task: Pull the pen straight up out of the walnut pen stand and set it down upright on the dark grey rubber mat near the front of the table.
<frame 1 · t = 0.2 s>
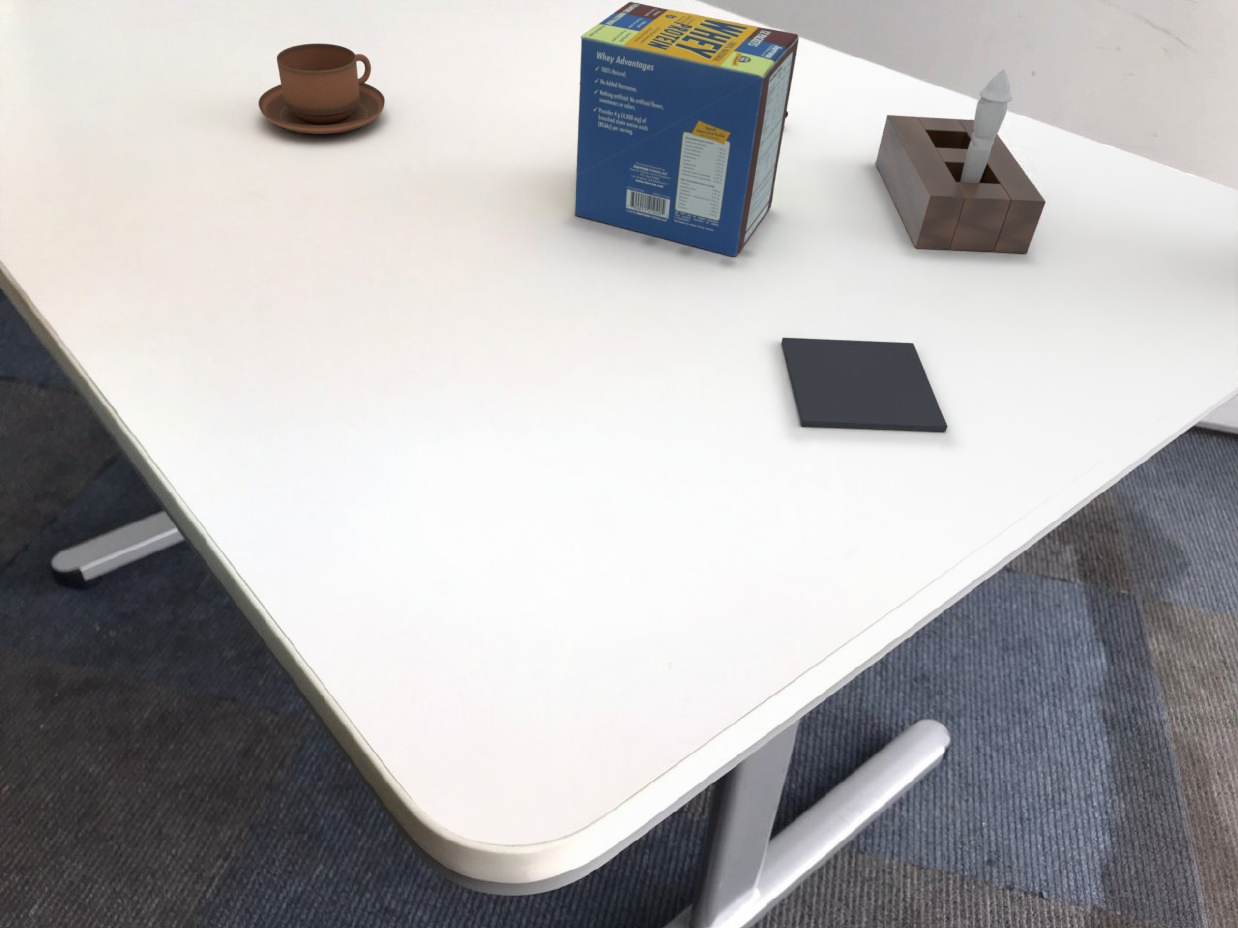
protein box: (673, 214, 91), on the table
pen: (955, 225, 93), resting in pen stand
mat: (859, 385, 73), on the table
character figurine: (730, 135, 105), on the table
pen stand: (946, 206, 96), on the table
cup and saucer: (325, 121, 102), on the table
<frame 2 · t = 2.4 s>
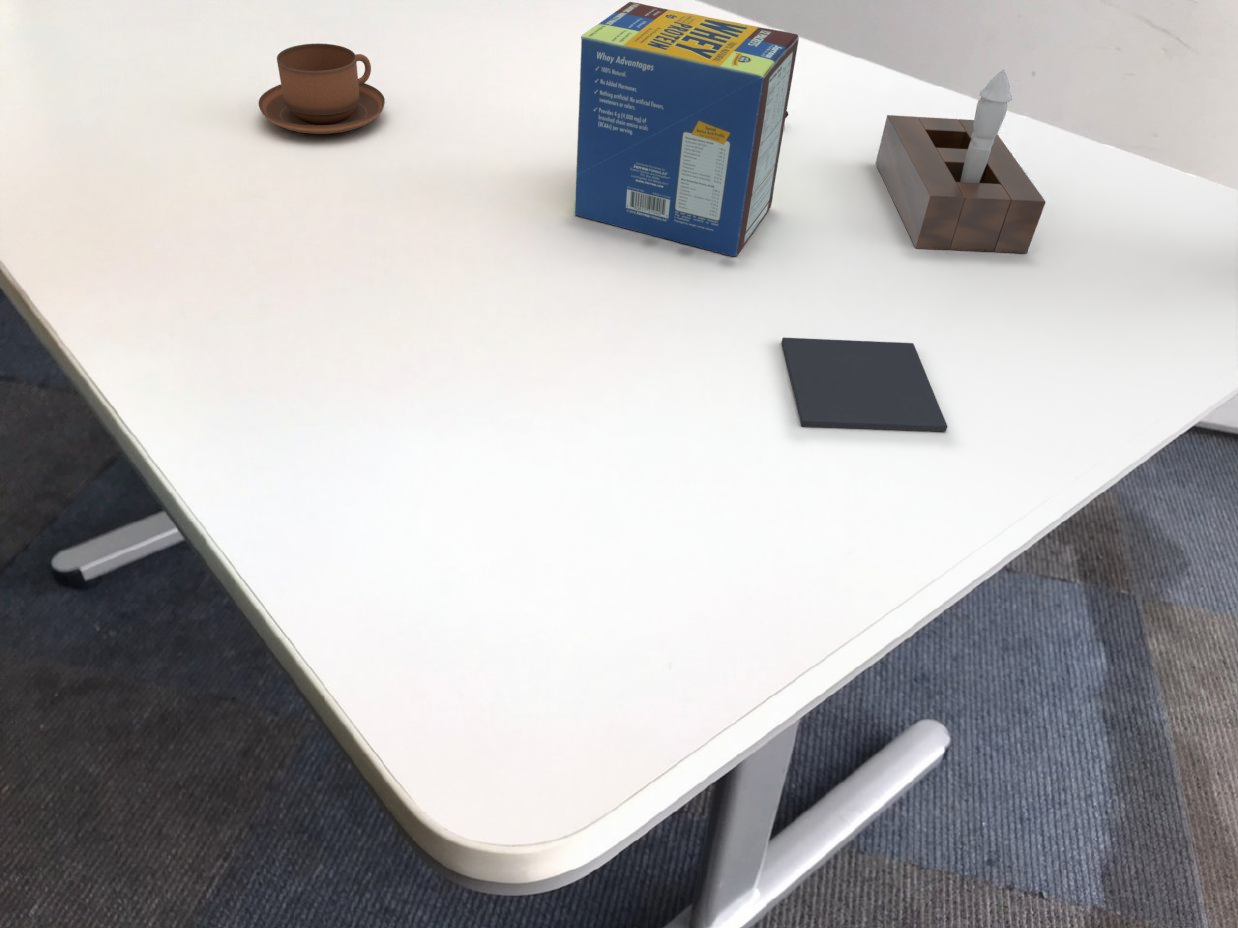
nothing on the table moved.
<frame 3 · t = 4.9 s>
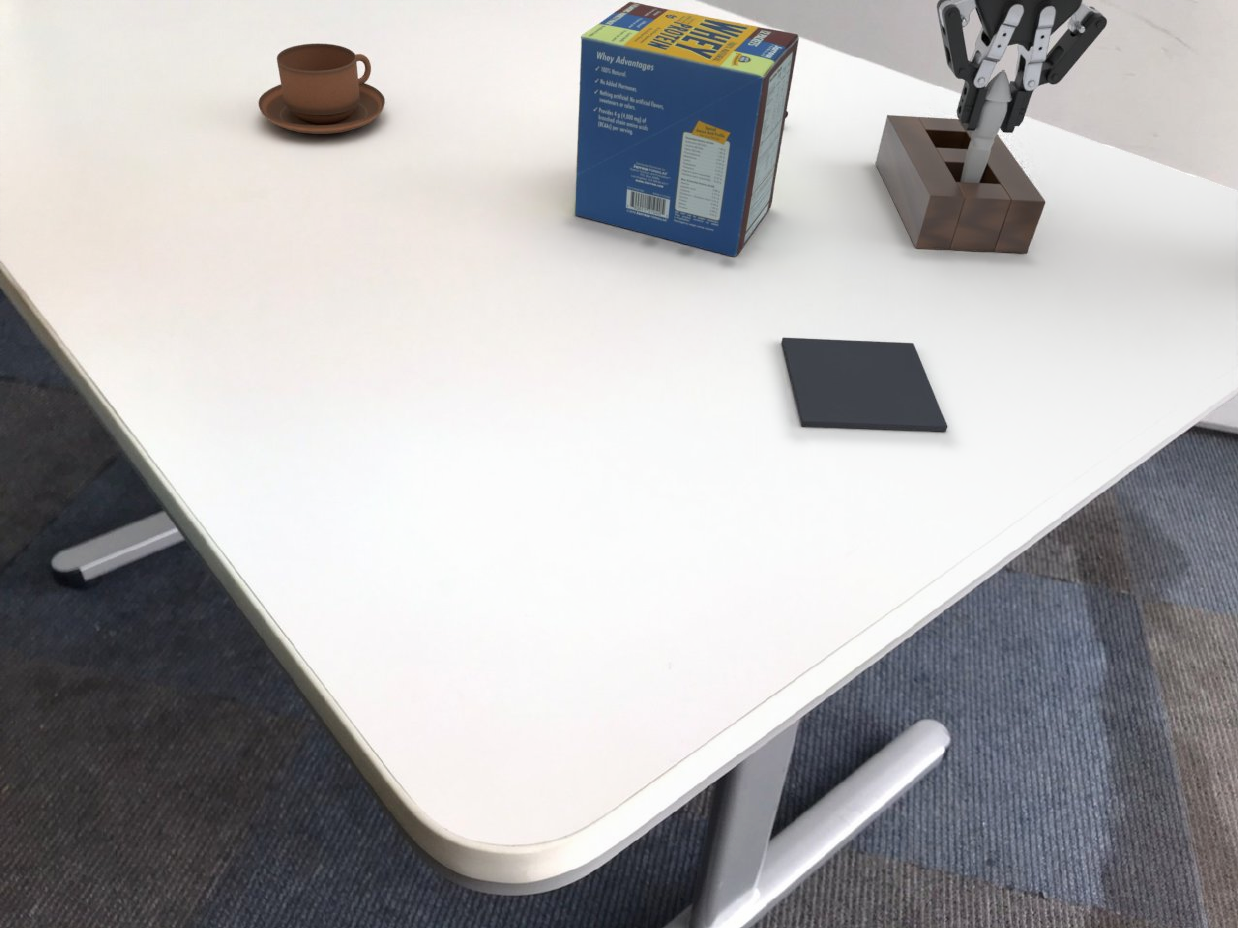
hand: (986, 127, 87), 9 cm above the table, tool pointing down, fingers closed on pen, 2 cm apart
pen: (955, 225, 93), resting in pen stand, touching gripper
everything else where it was.
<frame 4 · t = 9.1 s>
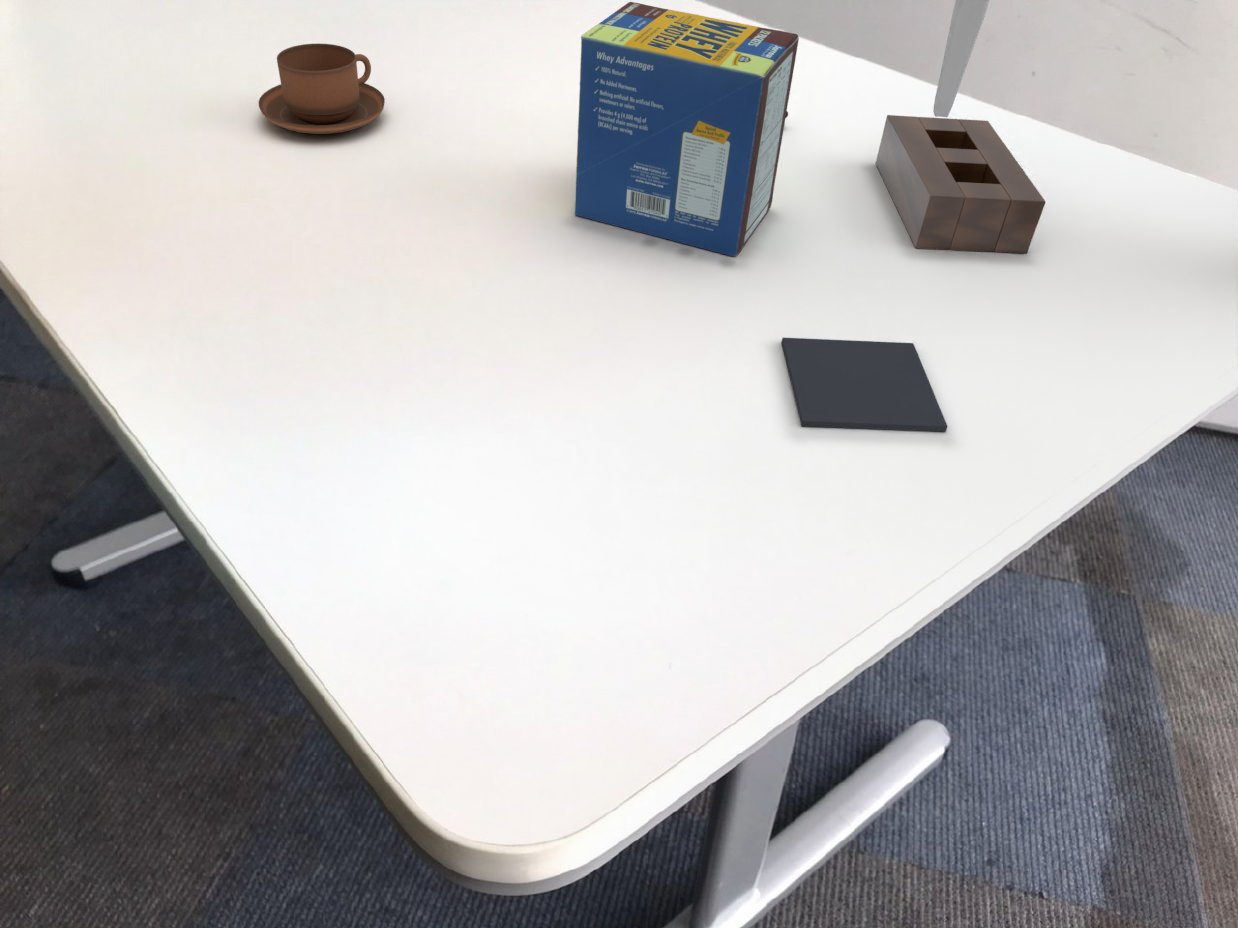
pen: (938, 119, 64), point 18 cm above the table, touching gripper
everything else where it was.
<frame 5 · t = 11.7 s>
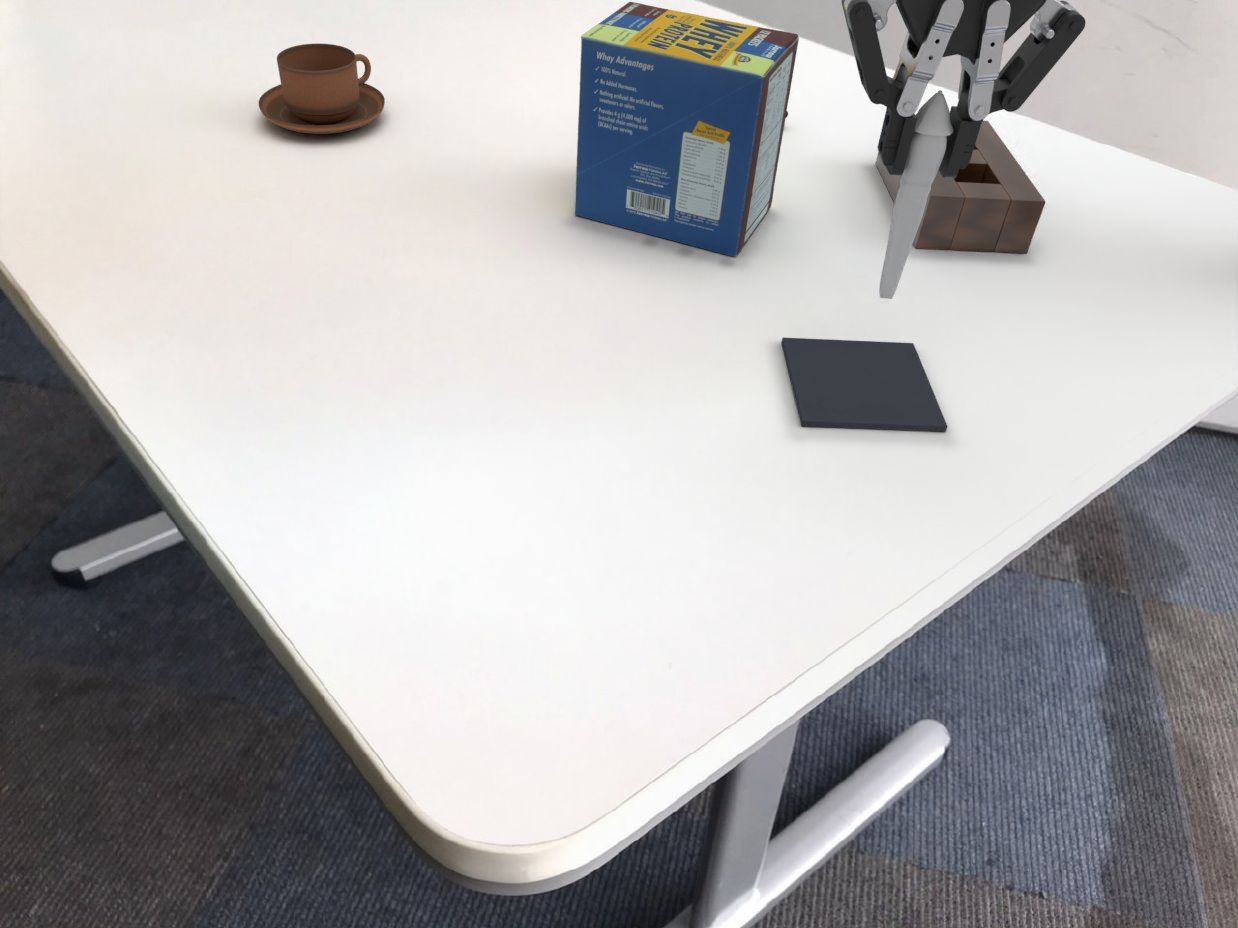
hand: (919, 170, 62), 16 cm above the table, tool pointing down, fingers closed on pen, 2 cm apart
pen: (883, 299, 68), point 7 cm above the table, touching gripper
everything else where it was.
when the fingers open (10 cm above the table, at t = 13.5 s): pen stays where it is, resting on mat.
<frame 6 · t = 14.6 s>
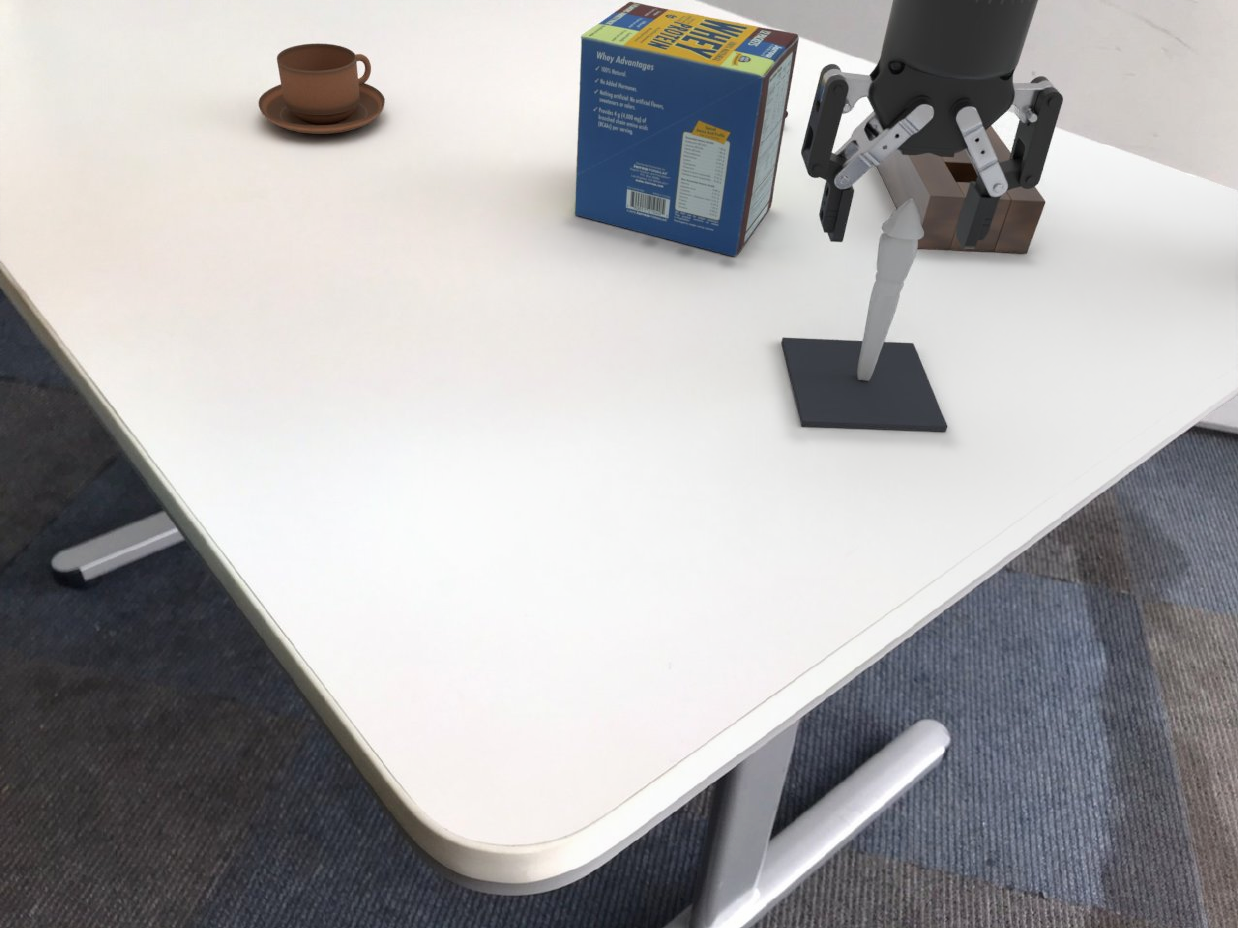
hand: (899, 239, 65), 12 cm above the table, tool pointing down, fingers open, 8 cm apart
pen: (861, 381, 73), resting on mat
everything else where it was.
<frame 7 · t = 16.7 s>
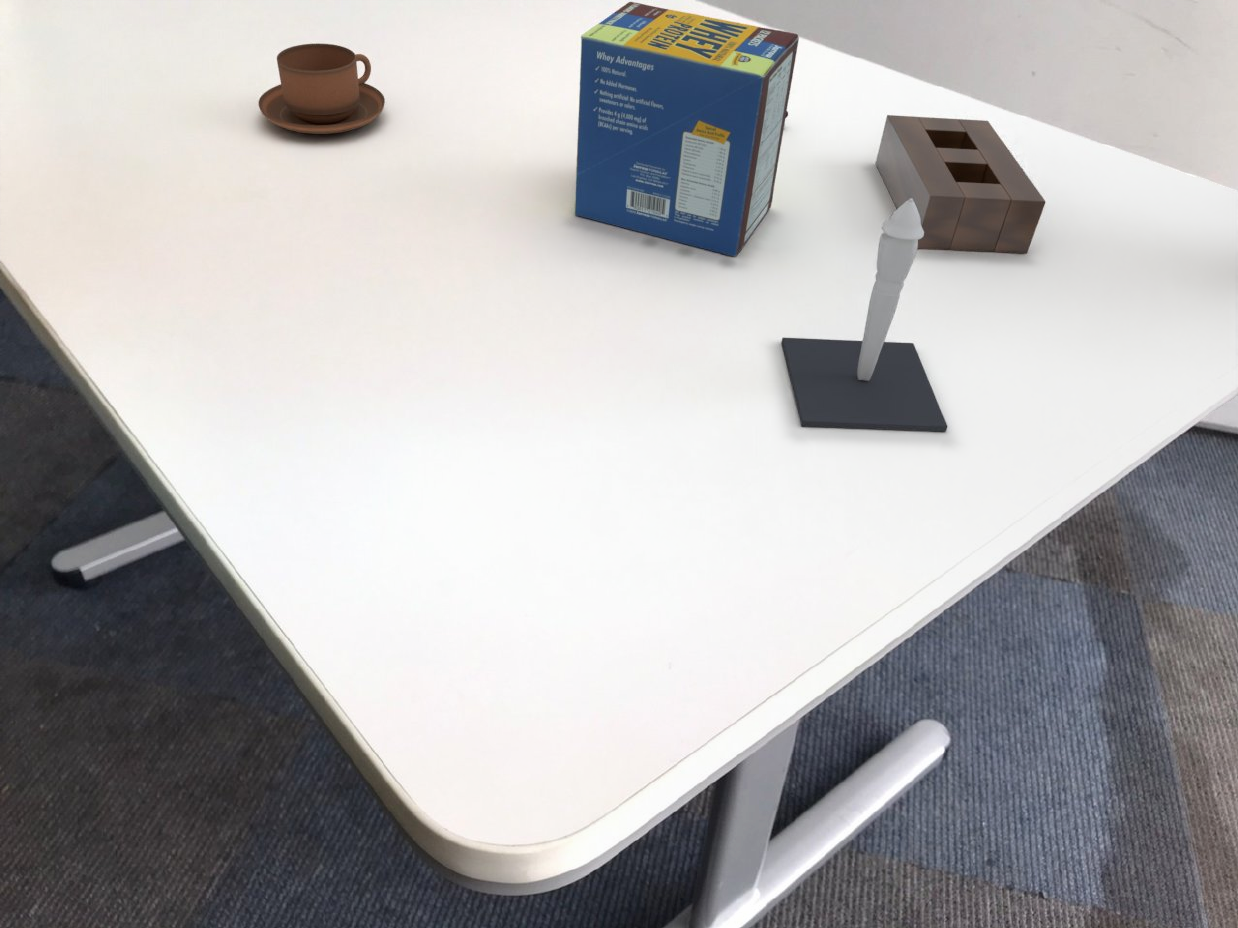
nothing on the table moved.
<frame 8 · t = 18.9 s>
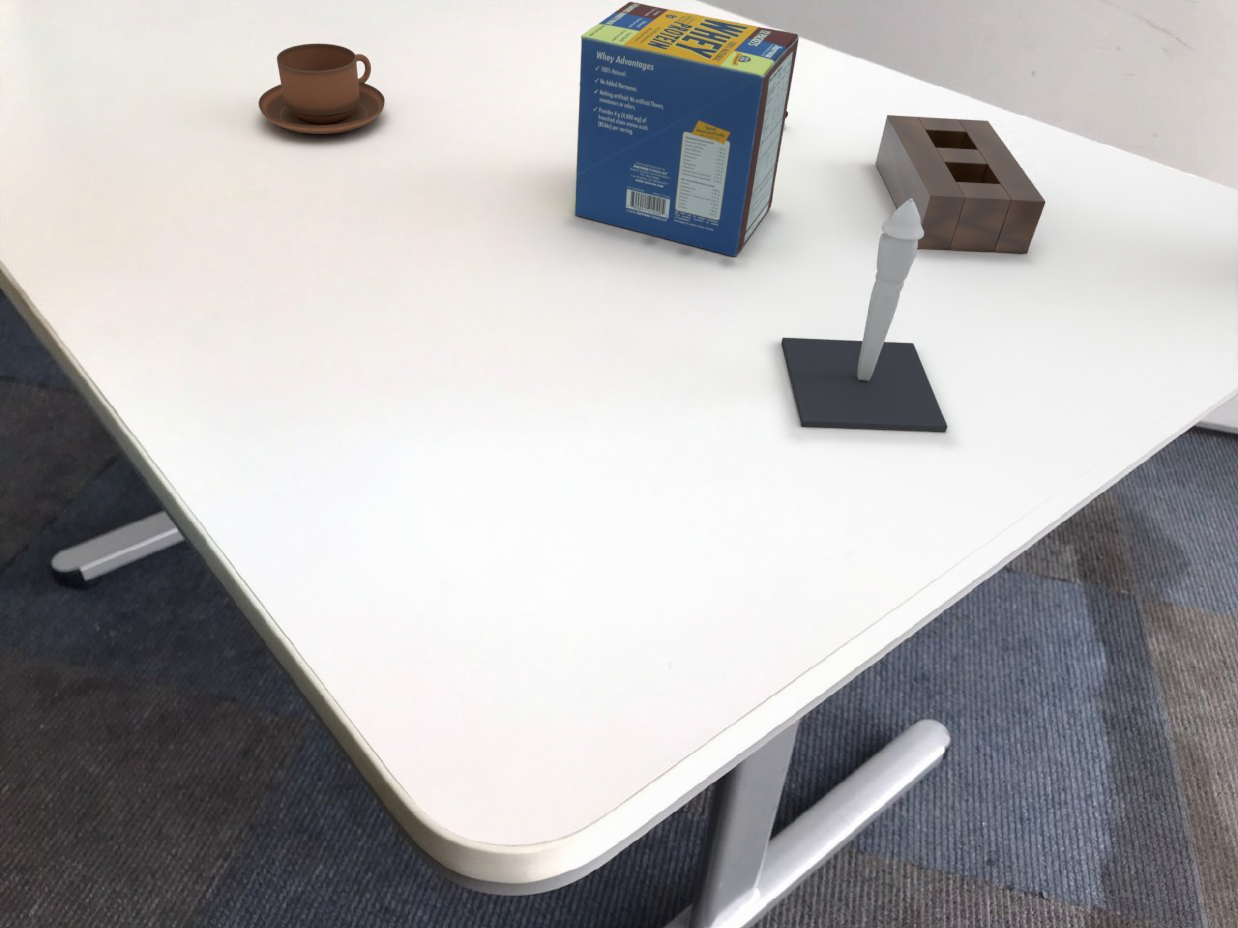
nothing on the table moved.
at the end: pen inside the target area on the mat (0.1 cm from its centre), point 0.3 cm above the mat's base; pen touching mat; the gripper is holding nothing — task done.
